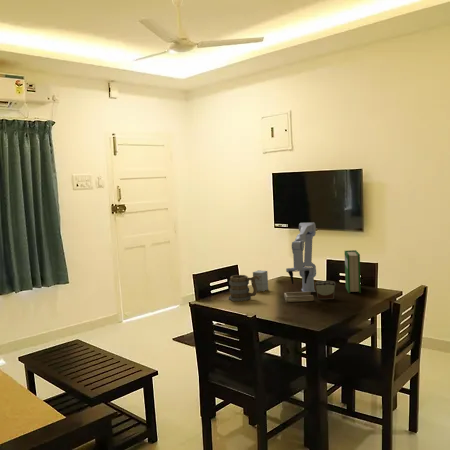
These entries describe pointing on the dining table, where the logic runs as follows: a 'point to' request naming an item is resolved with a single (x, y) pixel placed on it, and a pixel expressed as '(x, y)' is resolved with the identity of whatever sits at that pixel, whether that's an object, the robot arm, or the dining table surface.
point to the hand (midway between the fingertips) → (299, 283)
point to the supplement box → (261, 280)
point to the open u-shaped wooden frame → (298, 296)
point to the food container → (325, 289)
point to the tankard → (242, 287)
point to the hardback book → (352, 271)
